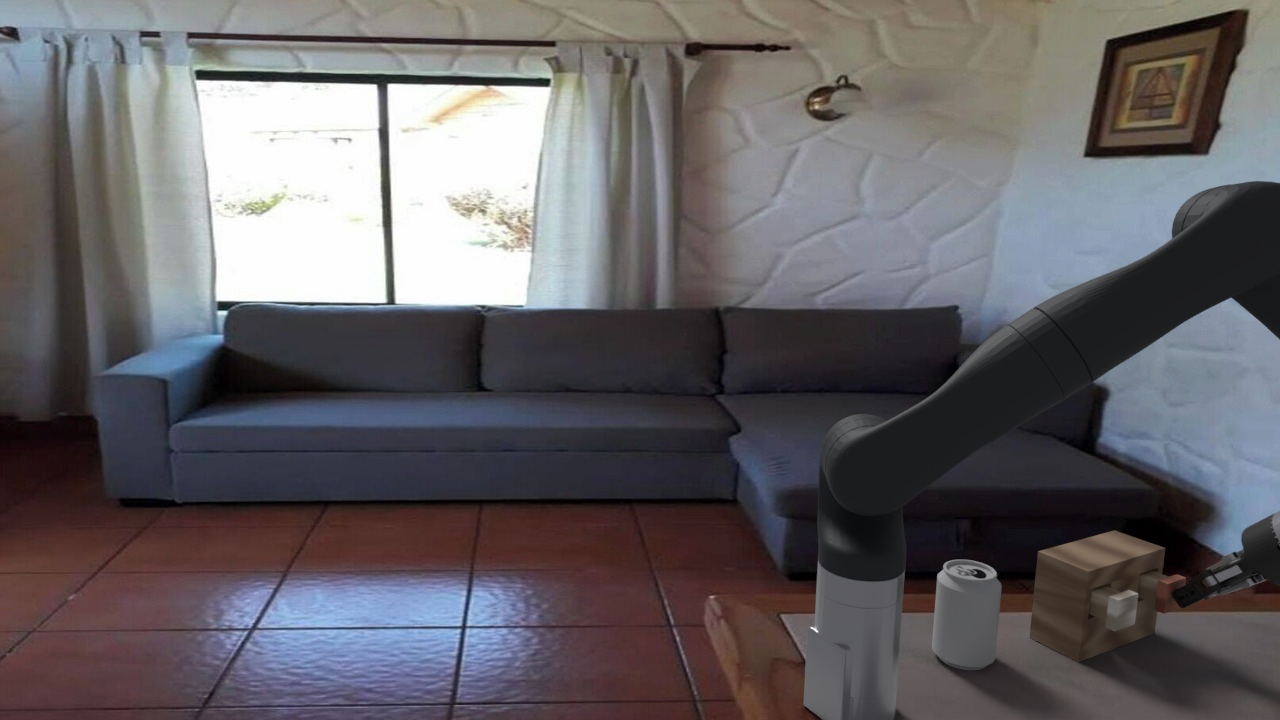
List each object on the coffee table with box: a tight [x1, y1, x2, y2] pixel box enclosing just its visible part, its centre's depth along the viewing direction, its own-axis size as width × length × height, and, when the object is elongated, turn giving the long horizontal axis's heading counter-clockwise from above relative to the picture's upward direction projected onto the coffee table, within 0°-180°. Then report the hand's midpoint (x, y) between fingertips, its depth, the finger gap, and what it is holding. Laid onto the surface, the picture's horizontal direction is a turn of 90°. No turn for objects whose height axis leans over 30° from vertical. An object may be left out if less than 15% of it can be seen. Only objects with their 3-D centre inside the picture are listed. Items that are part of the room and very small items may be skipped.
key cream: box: [1089, 585, 1138, 631], centre depth 109 cm, size 4×9×4 cm, turn 29°
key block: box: [1029, 530, 1166, 663], centre depth 113 cm, size 16×7×12 cm, turn 119°
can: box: [931, 559, 1002, 671], centre depth 107 cm, size 8×8×12 cm
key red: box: [1138, 570, 1187, 615], centre depth 113 cm, size 4×9×4 cm, turn 29°
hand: (1178, 599), depth 109 cm, fingers closed
